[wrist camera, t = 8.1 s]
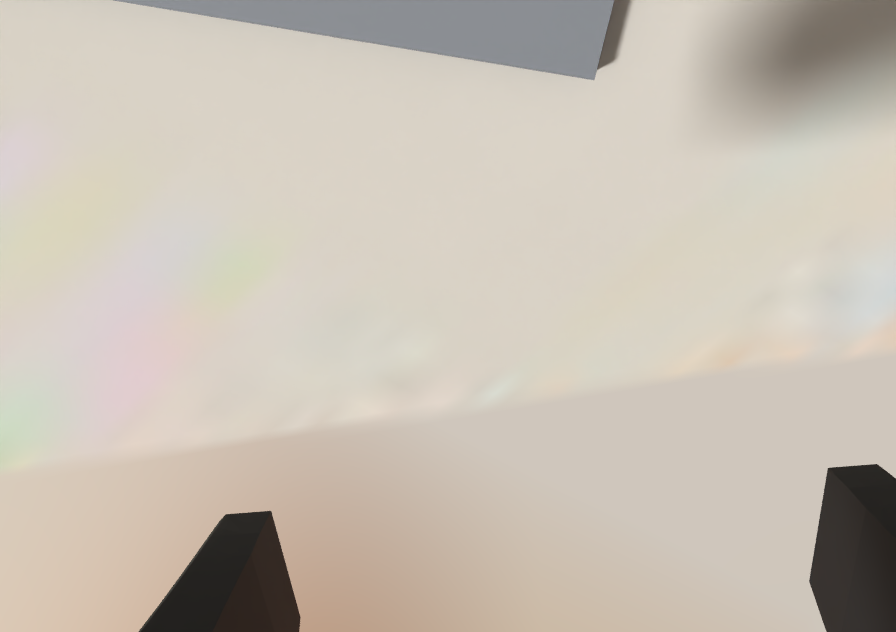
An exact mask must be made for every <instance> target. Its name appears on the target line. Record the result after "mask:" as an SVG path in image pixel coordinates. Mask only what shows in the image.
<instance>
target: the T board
mask: <svg viewBox="0 0 896 632" xmlns="http://www.w3.org/2000/svg"><path fill="white" fill-rule="evenodd" d="M115 1H121V2H127V3H133V4H139V5H145V6H151V7H157V8H163V9H169V10H175V11H181V12H187V13H193V14H199V15H205V16H211V17H217V18H223V19H229V20H235V21H241V22H247V23H253V24H259V25H265V26H271V27H277V28H283V29H289V30H295V31H301V32H307V33H313V34H319V35H325V36H331V37H337V38H343V39H349V40H355V41H362V42H368V43H374V44H380V45H386V46H392V47H398V48H404V49H410V50H416V51H422V52H428V53H434V54H440V55H446V56H452V57H458V58H464V59H470V60H476V61H482V62H488V63H494V64H500V65H506V66H512V67H518V68H524V69H530V70H536V71H542V72H548V73H554V74H560V75H566V76H572V77H578V78H584V79H590V80H594V79H595V75H596V71H597V67H598V63H599V59H600V55H601V51H602V47H603V43H604V39H605V35H606V31H607V27H608V23H609V19H610V15H611V11H612V7H613V3H614V0H115Z"/></svg>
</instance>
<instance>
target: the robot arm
mask: <svg viewBox="0 0 896 632" xmlns="http://www.w3.org/2000/svg"><path fill="white" fill-rule="evenodd" d="M809 581H810V585H811V588H812V591H813V593H814V596H815V599H816V602H817V605H818V608H819V611H820V614H821V617H822V620H823V623H824V625H825V628H826V631H827V632H896V478H894V477H893V476H892V475H890V474H889V473H888V472H887V471H885V470H884V469H882V468H881V467H880V466H879V465H877V464H874V465H861V466H848V467H834V468H828V471H827V477H826V483H825V489H824V495H823V501H822V507H821V514H820V519H819V526H818V532H817V538H816V544H815V550H814V556H813V562H812V568H811V574H810V580H809ZM299 627H300V614H299V611H298V607H297V603H296V600H295V596H294V593H293V589H292V585H291V582H290V578H289V574H288V571H287V567H286V563H285V560H284V556H283V552H282V549H281V545H280V542H279V538H278V534H277V531H276V527H275V524H274V520H273V517H272V512H271V511H265V512H252V513H239V514H226V515H225V516H224V517H223V518H222V519H221V520H220V521H219V523H218V524H217V526H216V527H215V528H214V530H213V531H212V533H211V534H210V535H209V537H208V538H207V540H206V541H205V542H204V544H203V545H202V547H201V548H200V549H199V551H198V552H197V554H196V555H195V557H194V558H193V559H192V561H191V562H190V563H189V565H188V566H187V568H186V569H185V570H184V572H183V573H182V574H181V576H180V577H179V579H178V580H177V581H176V583H175V584H174V585H173V587H172V588H171V590H170V591H169V592H168V594H167V595H166V596H165V598H164V599H163V600H162V602H161V603H160V604H159V606H158V607H157V608H156V610H155V611H154V612H153V614H152V615H151V616H150V618H149V619H148V620H147V621H146V623H145V624H144V626H143V627H142V628H141V629H140V631H139V632H299Z"/></svg>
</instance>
